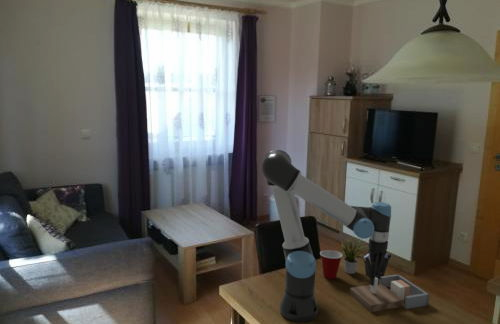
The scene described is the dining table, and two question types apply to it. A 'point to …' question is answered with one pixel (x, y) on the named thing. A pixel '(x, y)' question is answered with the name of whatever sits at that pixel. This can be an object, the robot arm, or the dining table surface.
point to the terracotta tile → (407, 288)
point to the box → (417, 294)
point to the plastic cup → (330, 263)
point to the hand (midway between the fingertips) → (373, 291)
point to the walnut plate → (376, 298)
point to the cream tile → (397, 289)
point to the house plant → (351, 257)
